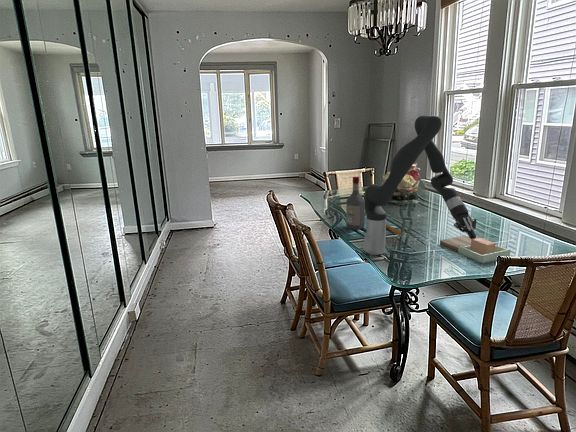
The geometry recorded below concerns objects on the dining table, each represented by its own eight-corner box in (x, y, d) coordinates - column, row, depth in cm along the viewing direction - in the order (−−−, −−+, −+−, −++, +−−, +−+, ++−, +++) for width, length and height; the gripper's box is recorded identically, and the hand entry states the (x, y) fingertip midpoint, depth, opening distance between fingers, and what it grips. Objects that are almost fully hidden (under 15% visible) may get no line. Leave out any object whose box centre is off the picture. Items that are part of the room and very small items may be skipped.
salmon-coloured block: (470, 250, 182) (485, 257, 173) (471, 238, 180) (487, 244, 172) (478, 249, 183) (494, 255, 175) (479, 237, 182) (495, 243, 174)
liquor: (357, 230, 218) (358, 179, 210) (344, 227, 224) (344, 177, 216) (366, 226, 224) (367, 176, 216) (353, 224, 230) (353, 175, 222)
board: (457, 252, 181) (458, 247, 181) (439, 244, 192) (440, 240, 191) (483, 247, 187) (483, 242, 186) (464, 240, 197) (464, 235, 197)
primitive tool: (403, 234, 211) (404, 228, 210) (396, 235, 209) (396, 229, 208) (382, 225, 228) (382, 219, 227) (374, 226, 226) (374, 220, 225)
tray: (482, 263, 168) (483, 255, 167) (457, 252, 181) (458, 244, 180) (509, 257, 173) (510, 249, 172) (483, 247, 187) (484, 239, 185)
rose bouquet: (377, 198, 291) (378, 158, 283) (413, 195, 294) (416, 156, 286) (389, 206, 266) (391, 163, 258) (429, 203, 269) (432, 161, 261)
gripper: (450, 205, 183) (468, 236, 176) (471, 202, 188) (489, 232, 180) (441, 213, 190) (458, 244, 182) (462, 209, 194) (479, 239, 186)
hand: (473, 238), depth 181 cm, fingers closed
